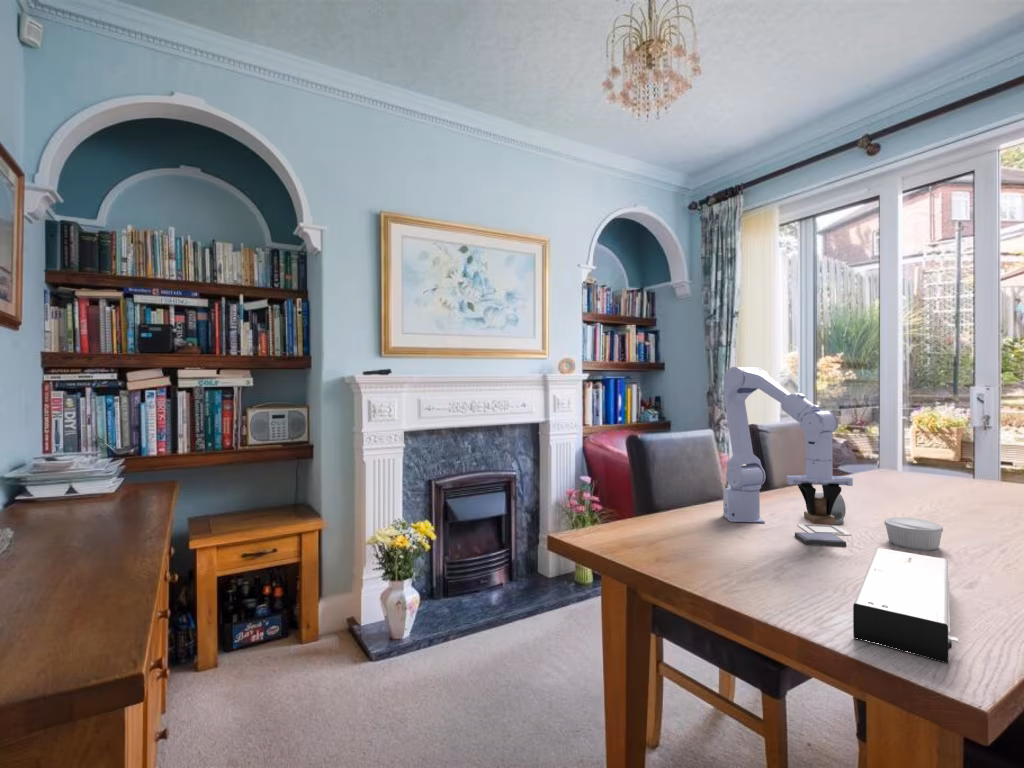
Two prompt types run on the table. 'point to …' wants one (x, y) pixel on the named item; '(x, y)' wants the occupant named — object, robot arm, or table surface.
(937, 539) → the ramekin
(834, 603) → the table surface
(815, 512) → the stamp
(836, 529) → the paper
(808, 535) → the ink pad
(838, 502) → the ceramic mug
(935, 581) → the white and black box
